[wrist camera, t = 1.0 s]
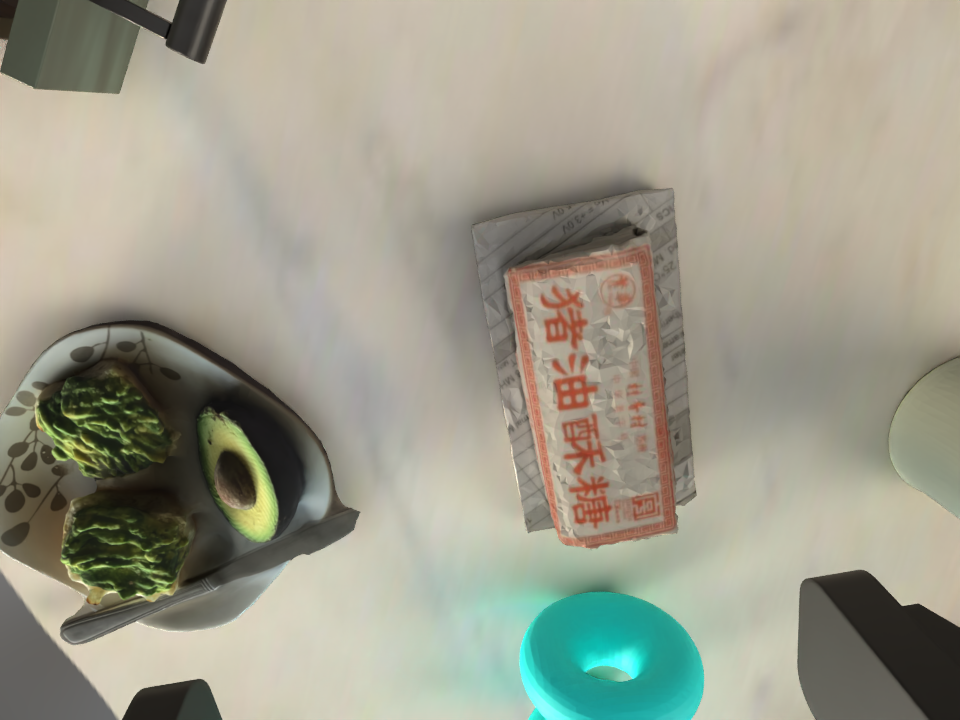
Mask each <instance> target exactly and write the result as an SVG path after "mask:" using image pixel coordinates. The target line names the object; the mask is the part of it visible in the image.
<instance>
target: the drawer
mask: <svg viewBox="0 0 960 720" xmlns="http://www.w3.org/2000/svg"><path fill="white" fill-rule="evenodd" d="M226 1H227V0H179V4H178V7H177V10H176V13H175V16H174V19H173V22H172V23H171V22H170V21H168V20H166V19H164V18H162V17H160V16H158V15H156V14H154V13H152V12H150V11H148V10H146V7H147V4H148V0H0V39H4V40H8V42H7V46H6V50H5V54H4V58H3V62H2V66H1V70H0V72H1V73H2V74H4V75H6V76H8V77H10V78H12V79H14V80H16V81H18V82H21V83H23V84H25V85H27V86H29V87H31V88H33V89H44V90H61V91H78V92H95V93H112V94H119V93H120V90H121V87H122V83H123V80H124V77H125V74H126V71H127V68H128V64H129V61H130V58H131V55H132V52H133V48H134V45H135V42H136V39H137V36H138V32H139V29H140V27H142V28H144V29H146V30H148V31H150V32H152V33H154V34H156V35H158V36H160V37H162V38H163V39H167V40H166V46H167V47H168V48H169V49H171V50H173V51H175V52H177V53H179V54H181V55H183V56H185V57H187V58H189V59H191V60H194V61H196V62H198V63H201V64H205V62H206V59H207V56H208V54H209V51H210V48H211V45H212V42H213V39H214V36H215V33H216V30H217V27H218V25H219V22H220V19H221V16H222V13H223V10H224V7H225V4H226Z"/></svg>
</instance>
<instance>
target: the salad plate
mask: <svg viewBox="0 0 960 720" xmlns="http://www.w3.org/2000/svg"><path fill="white" fill-rule="evenodd" d="M359 513H360V512H359V511H357V510H354V509H352V508H348V507H345V506H344V505H343V504H342V503H341V501H340V499H339V498H338V496H337V493H336V490H335V485H334V480H333V474H332V471H331V465H330V462H329V459H328V456H327V453H326V451H325V449H324V447H323V445H322V443H321V441H320V440H319V439H318V437H317V436H316V435H315V433H314V432H313V431H312V430H311V428H310V427H309V426H308V425H307V424H306V423H305V422H304V421H303V420H302V419H301V418H300V417H299V416H298V415H297V414H296V413H295V412H294V411H293V410H292V409H291V408H289V407H288V406H287V405H286V404H285V403H283V402H282V401H281V400H280V399H279V398H277V397H276V396H275V395H274V394H273V393H272V392H271V391H270V390H269V389H267V388H266V387H264V386H263V385H261V384H260V383H258V382H257V381H255V380H254V379H253V378H251V377H250V376H249V375H247V374H246V373H245V372H243V371H242V370H241V369H239V368H238V367H237V366H236V365H234V364H233V363H231V362H230V361H228V360H226V359H224V358H223V357H221V356H219V355H218V354H216V353H214V352H213V351H211V350H209V349H208V348H206V347H204V346H203V345H201V344H199V343H198V342H196V341H194V340H192V339H190V338H187V337H185V336H183V335H182V334H179V333H178V332H176V331H174V330H172V329H169V328H167V327H165V326H162V325H160V324H158V323H154V322H151V321H134V320H129V321H118V322H109V323H102V324H96V325H92V326H89V327H87V328H84V329H81V330H77V331H74V332H72V333H69V334H68V335H66V336H64V337H62V338H60V339H59V340H57V341H56V342H54V343H53V344H52V345H51V346H49V347H48V348H47V349H46V350H45V351H44V352H43V353H42V354H41V355H40V356H39V358H38V359H37V360H36V361H35V362H34V364H33V365H32V367H31V368H30V370H29V371H28V373H27V374H26V376H25V377H24V379H23V380H22V382H21V384H20V385H19V387H18V389H17V391H16V393H15V395H14V396H13V398H12V399H11V401H10V402H9V404H8V406H7V407H6V409H5V410H4V412H3V413H2V415H1V417H0V551H2V552H3V553H4V554H6V555H7V556H8V557H10V558H12V559H14V560H15V561H17V562H19V563H21V564H23V565H25V566H27V567H29V568H31V569H33V570H36V571H38V572H40V573H42V574H43V575H45V576H47V577H50V578H52V579H54V580H56V581H58V582H60V583H62V584H64V585H66V586H68V587H70V588H72V589H73V590H75V591H77V592H79V593H80V595H81V596H82V597H83V599H84V605H83V606H82V608H81V609H80V610H79V611H78V612H77V613H76V614H75V615H73V616H71V617H69V618H67V619H66V620H65V621H64V623H63V624H62V626H61V627H60V636H61V638H62V639H63V640H64V641H66V642H67V643H69V644H71V645H78V644H84V643H87V642H90V641H92V640H95V639H97V638H99V637H102V636H104V635H106V634H108V633H111V632H113V631H115V630H117V629H120V628H122V627H124V626H126V625H128V624H131V623H133V622H136V623H139V624H141V625H145V626H148V627H152V628H155V629H159V630H164V631H170V632H190V631H199V630H207V629H214V628H218V627H221V626H224V625H226V624H229V623H230V622H232V621H234V620H236V619H237V618H238V617H239V616H240V615H241V614H243V613H244V612H245V611H246V610H247V609H248V608H250V607H251V606H252V605H253V604H254V603H255V602H256V600H257V599H258V598H259V597H260V596H261V595H262V593H263V592H264V591H265V590H266V589H267V588H268V586H269V585H270V584H271V583H272V582H273V581H274V579H275V578H276V577H277V576H278V575H279V574H280V573H281V571H282V570H283V569H284V567H285V566H286V565H287V563H288V562H289V561H290V560H292V559H293V558H294V557H296V556H298V555H301V554H306V555H309V554H311V553H313V552H316V551H318V550H320V549H322V548H325V547H326V546H328V545H330V544H332V543H334V542H336V541H338V540H339V539H341V538H343V537H344V536H346V535H347V534H349V533H350V532H351V531H353V530H354V528H355V524H356V520H357V518H358V516H359Z"/></svg>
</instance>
